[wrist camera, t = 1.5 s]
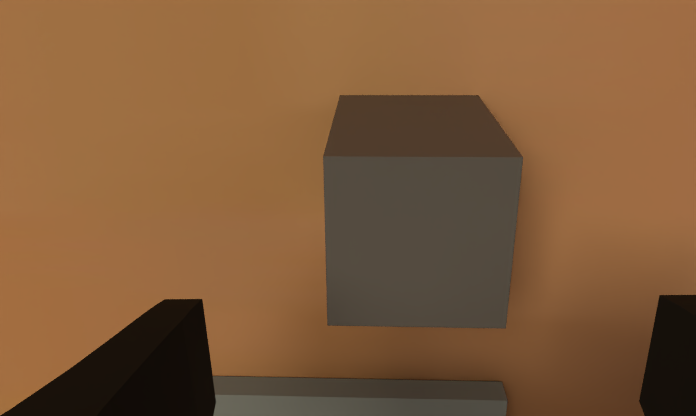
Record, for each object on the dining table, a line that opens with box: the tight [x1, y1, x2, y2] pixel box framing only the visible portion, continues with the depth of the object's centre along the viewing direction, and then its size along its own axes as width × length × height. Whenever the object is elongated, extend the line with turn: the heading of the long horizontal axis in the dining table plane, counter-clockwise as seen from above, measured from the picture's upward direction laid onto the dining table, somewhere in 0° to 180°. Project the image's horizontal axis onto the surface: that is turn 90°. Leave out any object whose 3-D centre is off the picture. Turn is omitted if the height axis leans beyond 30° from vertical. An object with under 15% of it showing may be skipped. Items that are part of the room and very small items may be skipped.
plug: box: [323, 95, 523, 328], centre depth 16 cm, size 4×4×6 cm
